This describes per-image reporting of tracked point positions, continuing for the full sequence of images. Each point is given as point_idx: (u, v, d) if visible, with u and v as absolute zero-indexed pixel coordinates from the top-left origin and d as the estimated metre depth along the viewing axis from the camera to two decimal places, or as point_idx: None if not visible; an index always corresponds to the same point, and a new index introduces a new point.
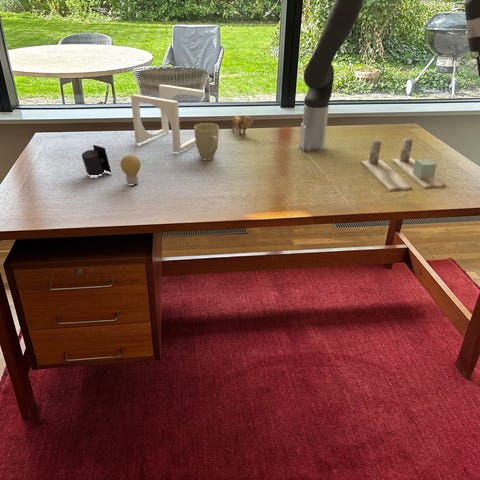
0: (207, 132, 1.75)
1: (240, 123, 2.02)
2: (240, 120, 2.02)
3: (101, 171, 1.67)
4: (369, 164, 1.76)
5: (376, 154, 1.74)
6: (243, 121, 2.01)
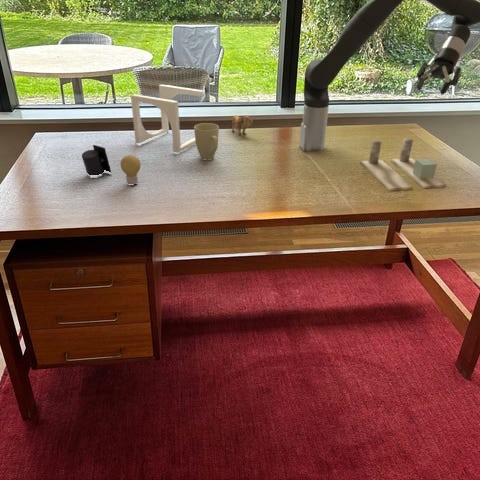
0: (207, 132, 1.75)
1: (240, 123, 2.02)
2: (240, 120, 2.02)
3: (101, 171, 1.67)
4: (369, 164, 1.76)
5: (376, 154, 1.74)
6: (243, 121, 2.01)
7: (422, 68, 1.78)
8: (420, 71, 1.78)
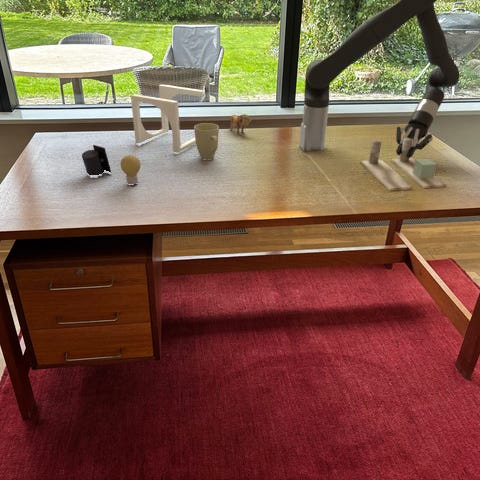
0: (207, 132, 1.75)
1: (239, 122, 2.03)
2: (238, 119, 2.03)
3: (101, 171, 1.67)
4: (369, 164, 1.76)
5: (376, 154, 1.74)
6: (242, 120, 2.02)
7: (398, 133, 1.79)
8: (398, 136, 1.79)
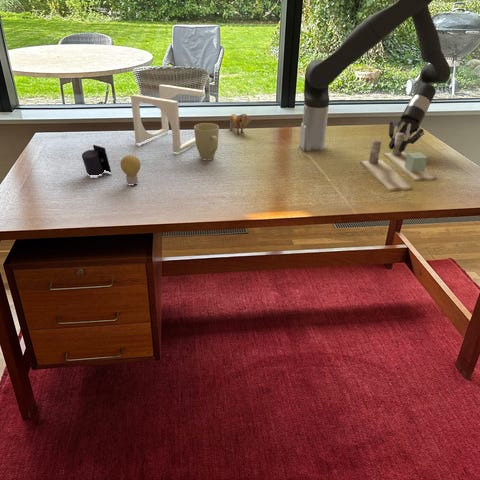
0: (207, 132, 1.75)
1: (238, 121, 2.04)
2: (238, 118, 2.04)
3: (101, 171, 1.67)
4: (369, 164, 1.76)
5: (376, 154, 1.74)
6: (241, 119, 2.03)
7: (391, 127, 1.85)
8: (390, 130, 1.84)
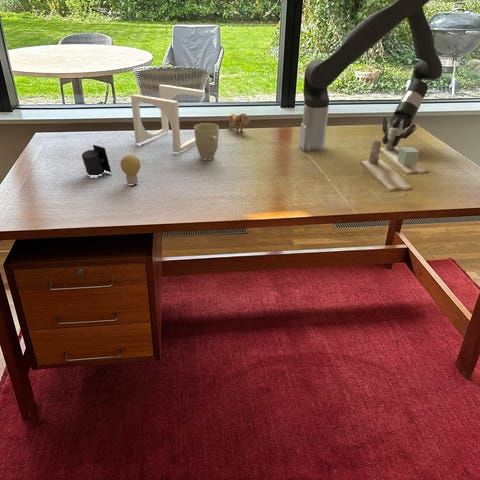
0: (207, 132, 1.75)
1: (238, 121, 2.04)
2: (238, 118, 2.04)
3: (101, 171, 1.67)
4: (369, 164, 1.76)
5: (376, 154, 1.74)
6: (241, 119, 2.03)
7: (384, 123, 1.89)
8: (384, 126, 1.89)
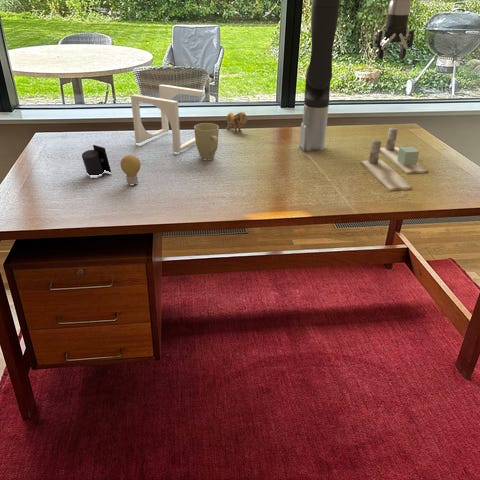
0: (207, 132, 1.75)
1: (236, 120, 2.06)
2: (236, 117, 2.06)
3: (101, 171, 1.67)
4: (369, 164, 1.76)
5: (376, 154, 1.74)
6: (239, 118, 2.05)
7: (380, 38, 1.81)
8: (379, 42, 1.81)
